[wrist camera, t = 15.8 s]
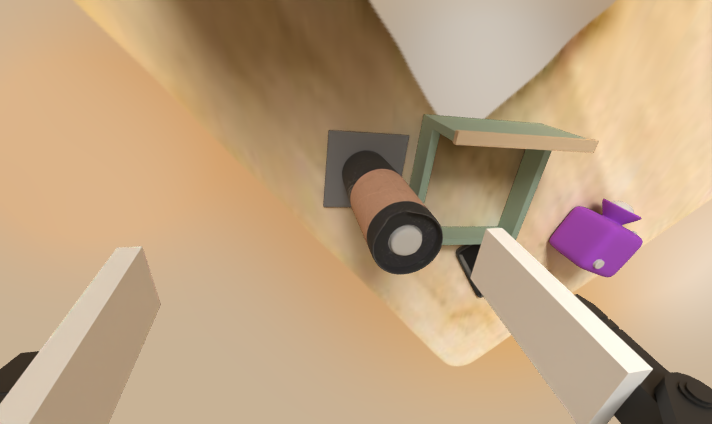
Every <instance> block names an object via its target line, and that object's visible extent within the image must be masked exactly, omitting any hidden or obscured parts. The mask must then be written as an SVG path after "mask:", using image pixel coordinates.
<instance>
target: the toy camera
mask: <svg viewBox="0 0 712 424" xmlns="http://www.w3.org/2000/svg"><path fill="white" fill-rule="evenodd" d="M602 209H603V213H602V215H600V214H598V213H596V212H594V211H592V210H590V209H588V208H585V207H581V206H578V207H576V208H574V209H573V210H572V211H571V212H570V213H569V215H568V216H567V217H566V218H565V220H564V221H563V222H562V223H561V225H560V226H559V227H558V228H557V229H556V231H555V232H554V233H553V235H552V236H551V238H550V240H549V242H550V244H551V245H552V246H553V247H554V248H555V249H556V250H558V251H559V252H560V253H561V254H563V255H564V256H565V257H567V258H568V259H569V260H571V261H572V262H573V263H574V264H576V265H577V266H579V267H580V268H582V269H585V270H587V271H590V272H593V273H595V274H598V275H601V276H604V277H611V276H613V275H614V274H615V273H616V272H617V271H618V270H619V269H620V268H621V267H622V266H623V265H624V264H625V263H626V262H627V261H628V260H629V259H630V258H631V257H632V255H633V254H634V253H635V252H636V251H637V250H638V249H639V248H640V247H641V245H642V239H641V238H640V237H639V236H638V235H637V233H636V232H634V231H630V230H628V229H626V228H624V227H623V226H622V225H623V224H627V223H631V222H634V221H638V220H640V219H641V217H639V216H637V215H635V214H634V210H633V208H632V207H631V206H630V205H629V204H627V203H625V202H621V201H613V202H610V201H608V200H606V199H603V201H602Z"/></svg>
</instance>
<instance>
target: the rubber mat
mask: <svg viewBox="0 0 712 424" xmlns="http://www.w3.org/2000/svg"><path fill="white" fill-rule="evenodd" d="M408 140H409V135H398V134H383V133H367V132H351V131H335V130H329V134H328V148H327V162H326V176H325V190H324V204H323V206H324V207H351V204H350V201H349V198H348V195H347V191H346V188H345V185H344V182H343V178H342V170H343V166H344V164H345V162H346V161H347V159H348V158H349V157H350V156H351V155H353V154H354V153H356V152H359V151H363V150H369V151H374V152H376V153H378V154H379V155H381V156H382V157H383V158H384V159H385V160H386V161H387V162H388V163H389V164H390V165H391V166H392V167H393V168H394V169H395V170H396V171H397V172H398V173H399V175H400V176H401V177H402V172H403V166H404V161H405V156H406V150H407V145H408Z"/></svg>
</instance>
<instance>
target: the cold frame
mask: <svg viewBox="0 0 712 424" xmlns="http://www.w3.org/2000/svg"><path fill="white" fill-rule="evenodd" d="M440 134H442V135H443V136H445V137H447V138H448V139H450V140H452V141H453V144H455V145H468V146H485V147H502V148H519V149H526V150H525V153H524V155H523V158H522V161H521V164H520V166H519V169H518V172H517V175H516V177H515V180H514V183H513V186H512V189H511V191H510V194H509V197H508V200H507V202H506V205H505V208H504V211H503V213H502V216H501V219H500V222H499V224H498V227H441V228H442V232H443V242H442V245H471V244H481V243H482V240H483V237H484V234H485V230H486V229H488V228H503V229H504V230H505V231H506V232H507V233H508V234H509V235H510V236H511V237H513V238H514V239H515V240H516V238H517V236H518V233H519V231H520V228H521V226H522V223H523V221H524V218H525V216H526V213H527V211H528V208H529V206H530V203H531V201H532V198H533V196H534V193H535V191H536V188H537V186H538V183H539V181H540V179H541V176H542V174H543V171H544V169H545V166H546V164H547V161H548V159H549V156H550V154H551V151H552V150H553V151H570V152H587V153H594V151H595V149H596V147H597V145H598V142H599V141H597V140H594V139H586V138H583V137H580V136H577V135H574V134H571V133H568V132H565V131H562V130H559V129H556V128H553V127H550V126H547V125H544V124H540V123H527V122H515V121H502V120H490V119H476V118H465V117H452V116H440V115H428V114H424V116H423V121H422V126H421V131H420V136H419V141H418V146H417V151H416V156H415V161H414V166H413V171H412V175H411V180H410V185H409V187H410V188H411V189H412V190H413V191H414V193H415V194H416V195H417V196H418V198H419V199H420V200H421V201H422V203H423V204H424V201H425V197H426V193H427V188H428V184H429V180H430V175H431V171H432V167H433V162H434V158H435V154H436V149H437V145H438V141H439V136H440Z"/></svg>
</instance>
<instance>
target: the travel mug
mask: <svg viewBox="0 0 712 424" xmlns="http://www.w3.org/2000/svg"><path fill="white" fill-rule="evenodd" d="M342 178H343V182H344V185H345V188H346V191H347V195H348V198H349V201H350V204H351V207H352V209H353V212H354V214H355V216H356V219H357V221H358V223H359V226H360V228H361V230H362V233H363V235H364V238H365V240H366V242H367V245H368V247H369V249H370V252H371V254H372V256H373V258H374V260H375V262H376V263H377V265H378V266H379V267H380V268H382V269H383V270H385V271H387V272H389V273H392V274H409V273H413V272H416V271H418V270H420V269H422V268H424V267H425V266H427V265H428V264H429V263H430V262H431V261H433V259H434V258H435V257H436V256H437V254H438V253H439V251H440V249H441V246H442V242H443V232H442V228H441V226H440V224H439V222H438V221H437V220H436V218H435V217H434V216H433V215H432V214H431V212H430V211H429V210H428V209H427V207H426V206H425V205H424V204H423V203H422V201H421V200H420V199H419V198H418V196H417V195H416V194H415V193H414V191H413V190H412V189H411V188H410V187H409V185H408V184H407V183H406V182H405V180H404V179H403V178H402V177H401V176H400V175H399V173H398V172H397V171H396V170H395V169H394V168H393V167H392V166H391V165H390V164H389V163H388V162H387V161H386V160H385V159H384V158H383V157H382V156H381V155H379V154H378V153H376V152H374V151H369V150H363V151H359V152H356V153H354V154H353V155H351V156H350V157H349V158H348V159H347V161H346V162H345V164H344V166H343V170H342Z"/></svg>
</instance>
